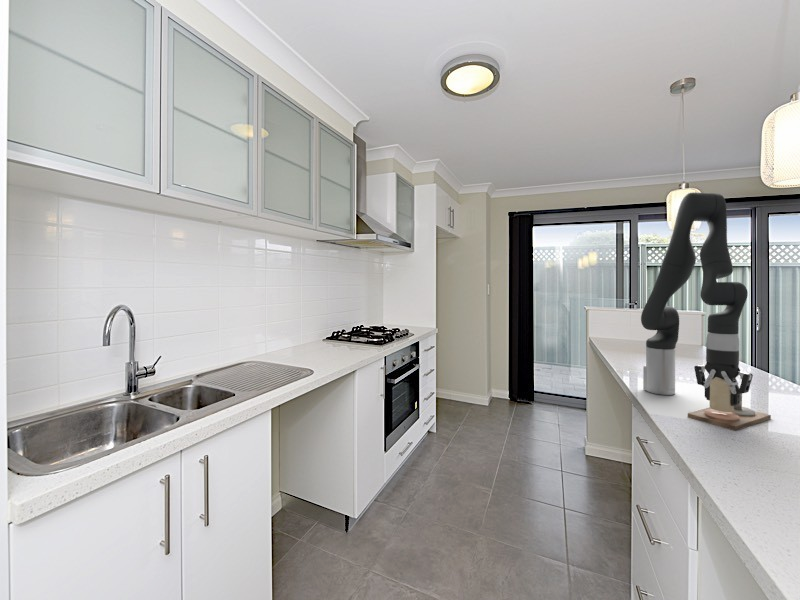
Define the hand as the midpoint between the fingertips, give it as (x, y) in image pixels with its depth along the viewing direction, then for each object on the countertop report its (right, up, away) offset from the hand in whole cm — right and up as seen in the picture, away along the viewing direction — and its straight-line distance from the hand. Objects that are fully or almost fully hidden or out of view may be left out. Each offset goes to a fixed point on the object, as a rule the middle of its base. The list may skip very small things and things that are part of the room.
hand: (721, 402), depth 111 cm
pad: (0, -4, 0) cm, 4 cm away
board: (+4, -5, +2) cm, 7 cm away
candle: (0, -2, 0) cm, 2 cm away
